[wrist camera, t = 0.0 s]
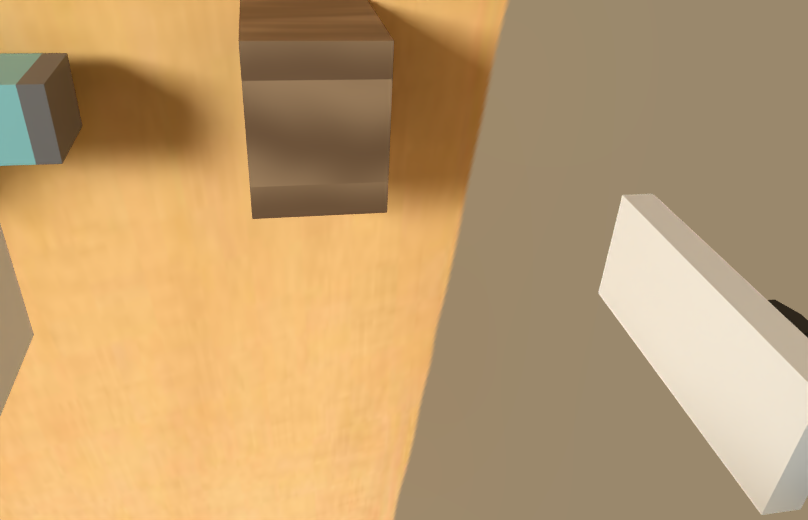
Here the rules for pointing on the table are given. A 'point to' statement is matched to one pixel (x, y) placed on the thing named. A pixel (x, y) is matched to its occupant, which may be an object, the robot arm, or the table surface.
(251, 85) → the socket block
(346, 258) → the table surface
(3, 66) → the bar
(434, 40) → the table surface
